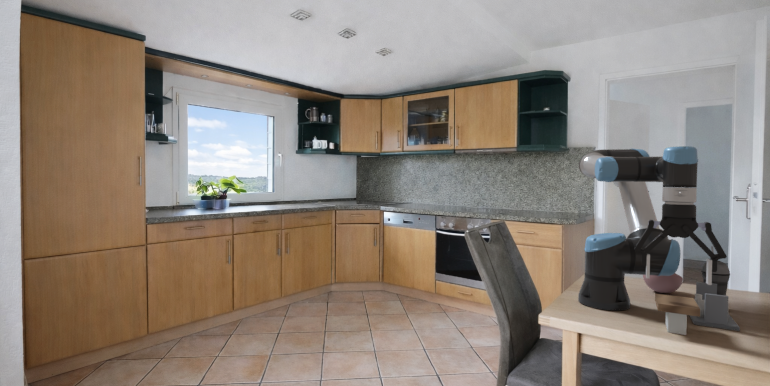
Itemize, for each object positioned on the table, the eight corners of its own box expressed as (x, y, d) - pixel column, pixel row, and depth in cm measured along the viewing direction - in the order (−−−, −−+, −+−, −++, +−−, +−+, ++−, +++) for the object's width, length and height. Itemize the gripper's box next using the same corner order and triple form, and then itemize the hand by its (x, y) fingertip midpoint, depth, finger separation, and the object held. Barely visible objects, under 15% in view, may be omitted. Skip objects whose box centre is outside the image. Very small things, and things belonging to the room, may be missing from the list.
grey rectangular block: (667, 332, 108) (668, 310, 108) (665, 324, 114) (665, 303, 114) (686, 335, 106) (686, 312, 106) (682, 326, 112) (683, 305, 112)
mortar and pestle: (690, 296, 142) (691, 264, 142) (663, 298, 139) (664, 265, 139) (660, 287, 154) (661, 257, 153) (634, 289, 151) (635, 259, 151)
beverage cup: (734, 312, 124) (736, 248, 124) (708, 311, 126) (710, 248, 125) (720, 305, 132) (722, 245, 131) (695, 304, 133) (697, 244, 132)
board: (657, 310, 108) (658, 303, 108) (654, 300, 117) (655, 293, 117) (700, 316, 103) (700, 309, 103) (693, 305, 113) (693, 298, 113)
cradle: (693, 324, 114) (694, 293, 114) (685, 307, 129) (686, 280, 129) (739, 331, 109) (740, 298, 109) (725, 313, 124) (726, 284, 124)
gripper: (625, 202, 112) (624, 277, 113) (742, 205, 100) (740, 290, 100) (625, 201, 119) (624, 272, 119) (735, 204, 106) (733, 283, 107)
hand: (677, 280), depth 110 cm, fingers open, 13 cm apart
